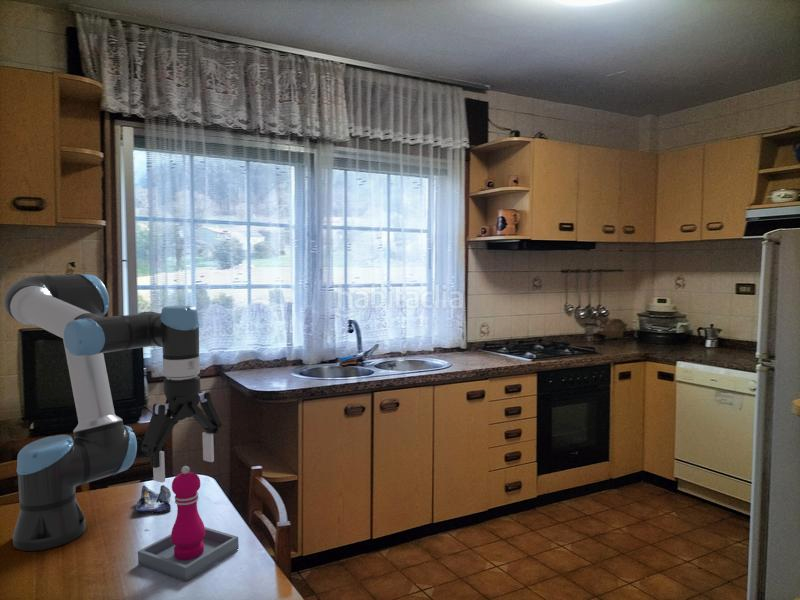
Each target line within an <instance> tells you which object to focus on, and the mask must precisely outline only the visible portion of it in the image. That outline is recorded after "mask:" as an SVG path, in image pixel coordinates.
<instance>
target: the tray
mask: <svg viewBox="0 0 800 600" xmlns="http://www.w3.org/2000/svg"><path fill="white" fill-rule="evenodd" d="M204 527H205V537H204V538H203V540H202V542H203V543H204V552H203V553H202V554H201V555H200V556H198V557H196V558H194V559H190V560H179V559H176V558H175V556H174V547H175V546H176V545H174V544H173V543H172V540H171V533H170V534H169V535H166V536H164V537H163V538H161V539H158V540H157V541H155V542H153V543H151V544H149V545H147V546H145V547H143V548H142V549H141V548H140V549H139V550H138V551H137V561H138V565H139V566H140V567H144V568H147V569H150V570H153V571H155V572H158V573H161V574H164V575H167V576H169V577H172V578H175V579H177V580H180V581H182V582H186V583H187V582H188V581H190V580H192V579H194V578H195V577H197V576H198V575H200V574H202V573H203V572H205V571H206V570H209V567H210V568H212V567H213V566H215V565H216V564H217V562H218V563H219V562H221V561H222V560H224V559H226V558H227V557H229V556H230V554H231V555H232V554H234V553H235V552H237V551H238V550H237V549H240V548H239V545H240V544H239V536H237V535H233V534H231V533H226V532H224V531H221V530H216V529H213V528H210V527H206V526H204ZM236 550H237V551H236ZM234 551H235V552H234ZM233 552H234V553H233ZM228 555H229V556H228ZM225 557H226V558H225ZM215 563H216V564H215Z"/></svg>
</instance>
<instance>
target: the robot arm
mask: <svg viewBox="0 0 800 600" xmlns="http://www.w3.org/2000/svg"><path fill="white" fill-rule="evenodd" d="M3 298H4V299H3V306H4V309H5V311H6V312H7V315H8V316H9V317H10V318H12V319H14V321H16V322H18V323H20V324H23V325H27V326H36V327H39V328H41V329H43V330H45V331H47V332H48V333H50V334H53V335H55V336H57V337H59V338H61V339H62V340H63V345H64V346H63V347H64V350H65V351H64V352H65V357H66V363H67V368H68V373H69V379H70V383H71V384H70V385H71V389H72V390H71V391H72V395H73V399H74V404H75V405H74V406H75V411H76V417H77V421H78V423H77V425H76V427H75V428H74V429H73V431H72V432H73V437H74V438H73V437H72V436H71V435H70V434H56V435H50V436H46V437H42V438H39V439H37V440H34V441H32V442H30V443H27V444H25V446H23V447H22V448H21V449H20V450H19V451H18V454H17V456H16V458H17V459H16V460H17V463H16V464H17V467H16V469H15V470H16V473H17V483H18V485H17V486H18V497H19V498H18V499H19V500H18V501H19V512H18V517H17V520H16V523H15V527H14V530H13V534H12V544H13V545H12V546H13V547H14V548H15V549H17V550H20V551H27V552H29V551H30V552H32V551H33V552H34V551H36V552H37V551H42V550H47V549H53V548H56V547H60V546H63V545H65V544H69V543H70V542H72V541H74V540H76V539H78V538H79V537H80V536H82V535H83V534H84V533H85V531H86V530H87V528H86V518H85V515H84V513H83V511H82V509H81V507H80V505H79V502H78V500H77V496H76V493H77V492H76V487H78V486H81V485H84V484H87V483H90V482H94V481H97V480H101V479H104V478H107V477H110V476H111V477H112V476H115V475H117V474H119V473H122V472H124V471H127V470H128V469H130V467H131V466H132V465H133V463H134V462H135V459H136V456H137V450H138V442H137V437H136V434H135V432H133V430H134V429H132V427H131V426H128V425H126V424H125V425H124V422H123V418H121V417H120V416H118V415H116V413H115V412H116V411H115V408H114V404H113V403H114V402H113V397H112V391H111V387H110V382H109V376H108V372H107V367H106V361H105V355H104V354H106V353H112V352H121V351H126V350H134V349H141V348H150V347H159V348H162V373H163V374H162V375H163V376H164V377H165V378H164V379H163V394H164V396H165V402H164V403H161V404H160V403H154V404H153V405H152V414H151V416H150V417H151V418H150V419H149V424H148V425H147V429H146V431H145V434H144V437H143V440H142V443H141V446H140V451H141V452H146V453H148V454H149V463H150V464H149V465H150V467H151V468H152V469H153V470H152V474H153V481H155V482H158V483H161V484H163V483H165V482H166V468H165V467H166V465H165V461H166V460H165V451H164V450H162V449H163V447H164V445H165V443H166V442H167V440H168V438H169V436H170V435H171V432H172V430H173V428H174V427H175V426H176V425H178V423H179V421H183V420H185V419H186V418H193V419H194V420H195V421H196V422H197V423H198V424H199V426H200V427H202V429H203V430H204V432H202V461H205V462H209V463H213V462H215V452H214V451H215V449H214V448H215V447H214V446H216V445H215V444H216V434H218V433H219V431H220V429H221V428H222V426H223V423H222V421H221V419H220V417H219V415H218V413H217V411H216V409H215V406H214V404H213V402H212V398H211V393H210V392H208V391H202V390H201V388H202V387H201V377H200V376H199V374H200V373H201V367H200V362H201V361H200V360H201V359H200V321H199V313H198V308H196V307H195V306H193V305H184V304H183V305H168V306H164V307H163V308H161V312H156V311H139V312H137V313H135V314H124V315H114V316H104V315H106V314H107V313H108V311H109V307H110V306H109V304H110V297H109V293H108V290H107V288H106V286H105V284H104V283H103V281H102V280H101V279H100V278H99V277H97V276H96V275H93V274H81V273H72V274H70V273H69V274H68V273H67V274H49V275H42V274H41V275H38V274H37V275H31V276H26V277H23V278H21V279H19V280H17V281H16V282H14V283H13V284H12V285H10V286H9V288H8V289H7V291H6V292H5V295H4V297H3ZM199 403H200V405H201V408H202V409H201V408H200V406H199ZM203 412H204V413H203Z"/></svg>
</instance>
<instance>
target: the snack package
mask: <svg viewBox="0 0 800 600" xmlns="http://www.w3.org/2000/svg"><path fill="white" fill-rule="evenodd" d="M140 493H141V495H140V498H139V500H138V501H137V502H136V506H135V511H136V513H137V514H139V513H143V512H151V513H152V514H153V515H155V514H159V515H160V514H163V513H166V512H168V513H169V512H171V504H170V501H171V496H172V493H171V491H170V489H169V487H167V486H166V485H164V484H163V485H160V488H159V493H157V492H156V491H153V490H152V489H150V488H149V487H148V486H146V485H144V484H143V485H142V486H141V492H140ZM156 504H158V507H155V505H156Z"/></svg>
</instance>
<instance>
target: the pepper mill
mask: <svg viewBox="0 0 800 600" xmlns="http://www.w3.org/2000/svg"><path fill="white" fill-rule="evenodd" d="M180 472H181V473H179V474H177V475H176V476H175V477H174V478H173V479H172V483H171V491H172V492H173V494H174V495H175V496H174V504H176V506H177V507H176V508H177V513H176V519H175V521H174V524H173V527H172V528H171V533H170V534H171V540H172V543H173V544H174V545H176V546H175V547H174V556H175V558H176V559H179V560H190V559H194V558H196V557H198V556H200V555H201V554H202V553H203V552H204V543H203V542H202V540H203V538H204V537H205V527H206V526H205V524H204V522H203V520H202V517H201V515H200V514H199V511H198V501H199V499H200V497H199V492H198V491H199V489H200V488H201V478H200V476H199V475H198V474H197V473H195V472H192V471H191V468H190V467H189V466H187V465H184V466H182V467H181V471H180Z"/></svg>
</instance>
